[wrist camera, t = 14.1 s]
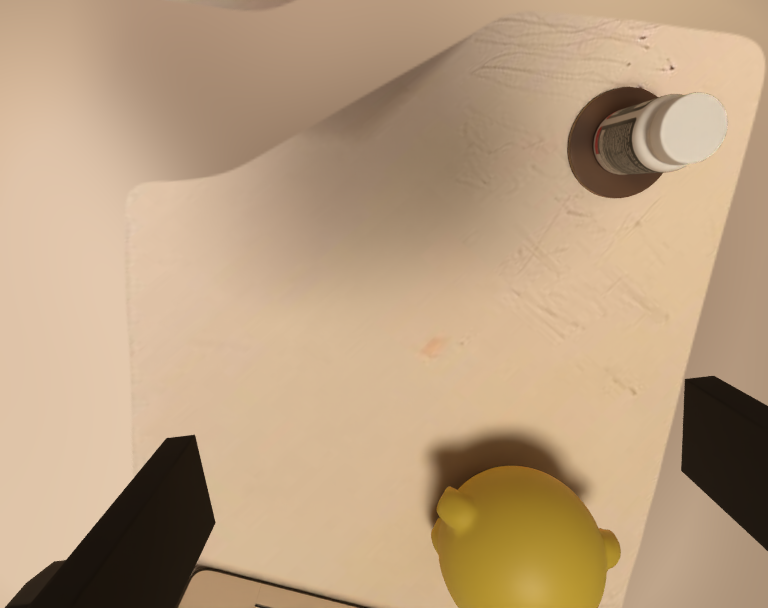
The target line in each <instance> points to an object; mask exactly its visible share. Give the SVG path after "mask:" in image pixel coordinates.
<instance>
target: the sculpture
mask: <svg viewBox="0 0 768 608" xmlns="http://www.w3.org/2000/svg"><path fill="white" fill-rule="evenodd" d="M436 511H437V513H438V515H439V516H440V517H439V518H438V519H437V521H436V523H435V525H434V528H433V529H432V532H431V538H432V542H433V546H434V548H435V550H436V551H437V553H438V555H439V563H440V568H441V571H442V575H443V578H444V581H445V583H446V586H447V588H448V590H449V592H450V594H451V596H452V598H453V600H454V602H455V603H456V605H457V606H458V607H459V608H598V606H599V604H600V602H601V599H602V596H603V592H604V588H605V583H606V573H607V571H608V569H610V568H612V567H614V566H615V565H616V564H617V562H618V561H619V559H620V553H621V551H620V545H619V542H618V540H617V538H616V536H615V535H614V533H613V532H611V531H610V530H603V529H601V528H599V529H598V526H597V524H596V522H595V520H594V518H593V516H592V515H591V513H590V512H589V510H588V509H587V507H586V506H585V504H584V503H583V502H582V501H581V499H580V498H579V497H578V496H577V495H576V494H575V493H574V492H573V491H572V490H571V489H570V488H569V487H567V486H566V485H565V484H563V483H562V482H561V481H559V480H558V479H556V478H554V477H552V476H551V475H549V474H546V473H544V472H542V471H539V470H536V469H533V468H529V467H523V466H501V467H495V468H492V469H488V470H485V471H483V472H481V473H479V474H477V475H475V476H474V477H472V478H470V479H469V480H468V481H466V482H465V483H464V484H463V485H462V486H461V487H460V488H459V489H458V490H456V489H455V488H452V487H450V486H449V487H448V488H446V489H445V491H444V493H443V495H442V497H441V498H440V500H439V502H438V505H437V510H436Z"/></svg>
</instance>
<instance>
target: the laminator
mask: <svg viewBox="0 0 768 608" xmlns="http://www.w3.org/2000/svg"><path fill="white" fill-rule="evenodd" d="M175 608H365V607H361V606H357V605H353V604H349V603H345V602H341V601H337V600H333V599H329V598H325V597H322V596H318V595H314V594H310V593H306V592H302V591H298V590H294V589H290V588H286V587H282V586H278V585H274V584H270V583H266V582H262V581H259V580H255V579H251V578H247V577H243V576H239V575H235V574H231V573H227V572H223V571H219V570H215V569H208V568H205V569H200V570H198V571H196V572H194V573H193V574H192V575H191V577H190V578H189V580H188V582H187V584H186V586H185V588H184V590H183V593H182V595H181V597H180V599H179V601H178V603H177V605H176V607H175Z"/></svg>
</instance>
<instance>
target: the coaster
mask: <svg viewBox="0 0 768 608" xmlns="http://www.w3.org/2000/svg"><path fill="white" fill-rule="evenodd" d="M656 98H658V97H657V96H656V95H654V94H652V93H651V92H649V91H646V90H644V89H640V88H634V87H622V88H617V89H613V90H610V91H608V92H605V93H603V94H601V95H599V96H598V97H596V98H595V99H593V100H592V101H591V102H590V103H588V104H587V105H586V106H585V108H584V109H583V110H582V111H581V112H580V114H579V115H578V117H577V118H576V120H575V122H574V124H573V126H572V129H571V132H570V136H569V141H568V158H569V163H570V166H571V169H572V172H573V173H574V175H575V177H576V178H577V180H578V181H579V182H580V184H581V185H582V186H583V187H585V188H586V189H587V190H589V191H590V192H592V193H594V194H596V195H599V196H602V197H607V198H624V197H629V196H632V195H635V194H638V193H640V192H642V191H643V190H645V189H647V188H648V187H650V186H651V185H652V184H653V183H654V182H655V181H656V180H657V179H658V178H659V177H660V176H661V175H662V173H644V174H629V175H618V174H613V173H610V172H608V171H607V170H605V169H604V168H603V167H602V166H601V165H600V164H599V162H598V161H597V159H596V156H595V153H594V138H595V134H596V132H597V129H598V127H599V126H600V124H601V123H602V122H603V121H604V120H605V119H606V118H607V117H608V116H609V115H611V114H612V113H614V112H616V111H618V110H621V109H624V108H628V107H631V106H634V105H637V104H640V103H643V102H646V101H649V100H652V99H656Z"/></svg>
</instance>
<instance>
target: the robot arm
mask: <svg viewBox="0 0 768 608" xmlns="http://www.w3.org/2000/svg"><path fill="white" fill-rule="evenodd" d="M683 417H684V418H683V441H682V466H681V471H682V472H683V473H684V474H685V475H687V476H688V477H689V478H690V479H691V480H692V481H693V482H694V483H695V484H696V485H697V486H698V487H700V488H701V489H702V490H703V491H704V492H705V493H706V494H707V495H708V496H709V497H710V498H711V499H712V500H713V501H714V502H716V503H717V504H718V505H719V506H720V507H721V508H722V509H723V510H724V511H725V512H726V513H728V515H730V516H731V517H732V518H733V519H734V520H735V521H736V522H737V523H738V524H739V525H740V526H742V528H744V529H745V530H746V531H747V532H748V533H749V534H750V535H751V536H752V537H753V538H754V539H755V540H756V541H758V542H759V543H760V544H761V545H762V546H763V547H764V548H765V549H766V550H767V551H768V406H767V405H765V404H763V403H761V402H760V401H758V400H756V399H754V398H752V397H751V396H749V395H747V394H745V393H743V392H742V391H740V390H738V389H736V388H735V387H733V386H731V385H729V384H728V383H726V382H724V381H722V380H720V379H719V378H717V377H715V376H708V377H699V378H691V379H685V391H684V416H683ZM214 525H215V519H214V515H213V510H212V506H211V502H210V497H209V493H208V489H207V485H206V480H205V476H204V472H203V467H202V463H201V459H200V455H199V450H198V446H197V442H196V437H195V435H190V436H181V437H173V438H166V440H165V441H164V442H163V443H162V444H161V446H160V447H159V448H158V449H157V450H156V452H155V453H154V454H153V455H152V457H151V458H150V459H149V460H148V461H147V463H146V464H145V465H144V466H143V467H142V469H141V470H140V471H139V472H138V474H137V475H136V476H135V477H134V478H133V480H132V481H131V482H130V483H129V484H128V486H127V487H126V488H125V489H124V491H123V492H122V493H121V494H120V495H119V497H118V498H117V499H116V500H115V502H114V503H113V504H112V505H111V506H110V508H109V509H108V510H107V511H106V513H105V514H104V515H103V516H102V517H101V518H100V520H99V521H98V522H97V523H96V524H95V526H94V527H93V528H92V529H91V531H90V532H89V533H88V534H87V536H86V537H85V538H84V539H83V540H82V541H81V543H80V544H79V545H78V546H77V548H76V549H75V550H74V551H73V552H72V554H71V555H70V556H69V557H68V559H67V560H64V561H56V562H53V563H52V564H50V565H49V566H48V567H46V568H45V569H44V570H43V571H41V572H40V573H39V574H37V575H36V576H35V577H34V578H32V579H31V580H30V581H28V582H27V583H26V584H25V585H24V586H23V588H22V589H21V590H20V591H19V592H18V593H17V594H16V596H15V597H14V598H13V599H12V600H11V601H10V602H9V603H8V605H7V606H6V607H5V608H175V607H176V605H177V603H178V601H179V599H180V597H181V595H182V593H183V590H184V588H185V586H186V584H187V582H188V580H189V578H190V576H191V574H192V571H193V569H194V567H195V565H196V563H197V561H198V559H199V557H200V555H201V552H202V550H203V548H204V546H205V544H206V542H207V540H208V538H209V535H210V533H211V531H212V529H213V527H214Z"/></svg>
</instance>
